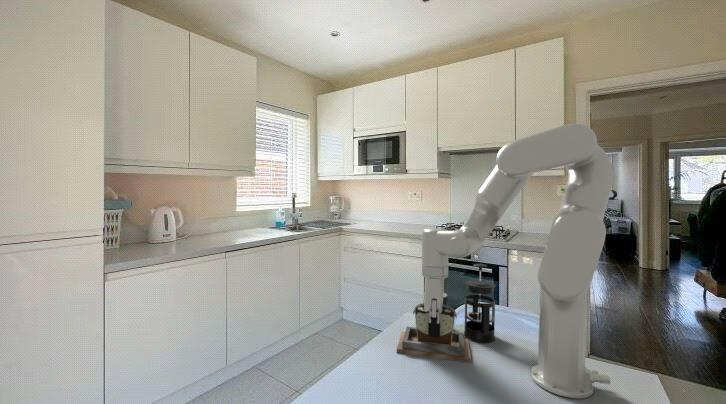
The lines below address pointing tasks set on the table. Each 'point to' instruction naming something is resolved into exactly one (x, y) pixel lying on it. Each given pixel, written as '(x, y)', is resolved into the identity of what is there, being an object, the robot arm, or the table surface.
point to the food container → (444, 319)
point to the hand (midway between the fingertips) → (434, 331)
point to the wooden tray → (434, 346)
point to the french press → (479, 321)
